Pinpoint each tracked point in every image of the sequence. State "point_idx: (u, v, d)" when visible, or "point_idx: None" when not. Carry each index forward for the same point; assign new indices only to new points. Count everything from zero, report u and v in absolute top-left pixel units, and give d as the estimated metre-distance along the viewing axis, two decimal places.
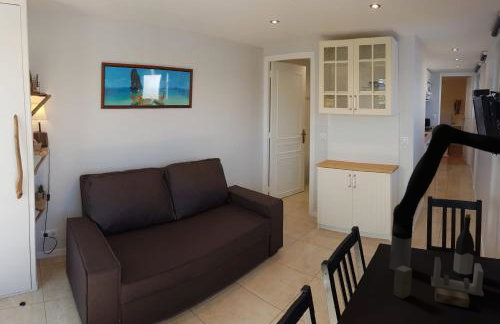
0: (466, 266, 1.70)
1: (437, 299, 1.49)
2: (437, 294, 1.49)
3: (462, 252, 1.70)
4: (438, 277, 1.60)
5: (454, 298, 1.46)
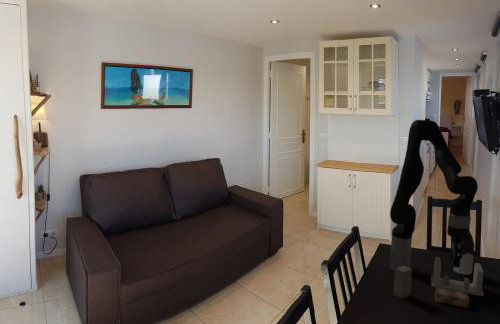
0: (466, 266, 1.70)
1: (437, 299, 1.49)
2: (437, 294, 1.49)
3: (462, 252, 1.70)
4: (438, 277, 1.60)
5: (454, 298, 1.46)
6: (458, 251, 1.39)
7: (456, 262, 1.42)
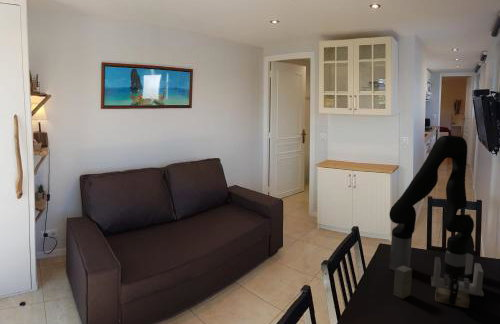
0: (466, 266, 1.70)
1: (437, 298, 1.49)
2: (437, 293, 1.49)
3: None
4: (438, 277, 1.60)
5: None
6: (454, 290, 1.43)
7: (452, 299, 1.45)
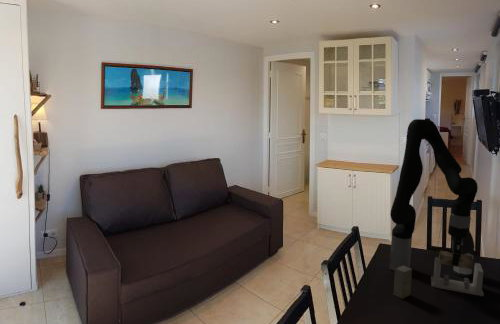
0: None
1: (441, 260, 1.52)
2: (441, 255, 1.52)
3: (462, 252, 1.70)
4: (438, 277, 1.60)
5: None
6: (457, 251, 1.46)
7: (455, 260, 1.49)
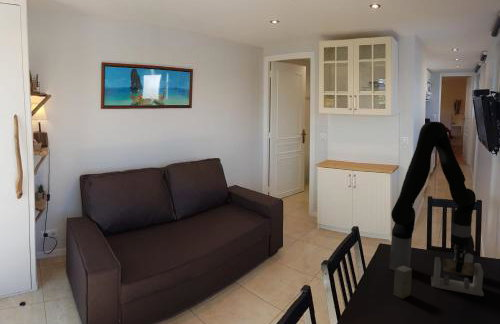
0: None
1: (445, 268, 1.60)
2: (445, 263, 1.60)
3: None
4: (438, 277, 1.60)
5: None
6: (460, 259, 1.54)
7: (458, 268, 1.57)
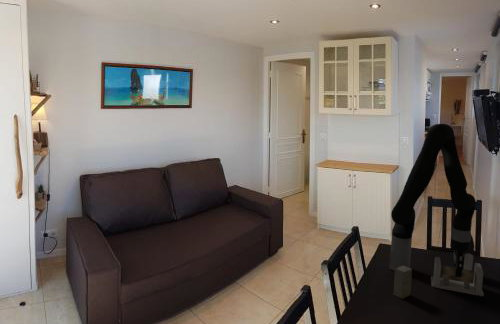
0: (466, 266, 1.70)
1: (444, 275, 1.61)
2: (444, 271, 1.60)
3: None
4: (438, 277, 1.60)
5: None
6: (460, 263, 1.53)
7: (458, 272, 1.56)
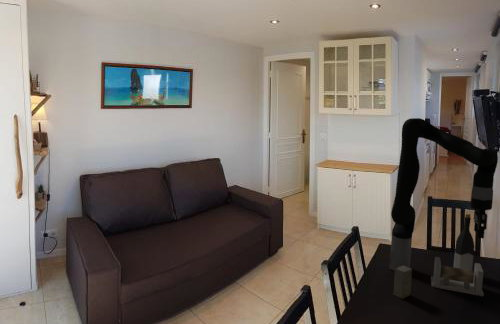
0: (466, 266, 1.70)
1: (444, 275, 1.61)
2: (444, 271, 1.60)
3: (462, 252, 1.70)
4: (438, 277, 1.60)
5: (459, 274, 1.58)
6: (483, 222, 1.43)
7: (480, 233, 1.45)
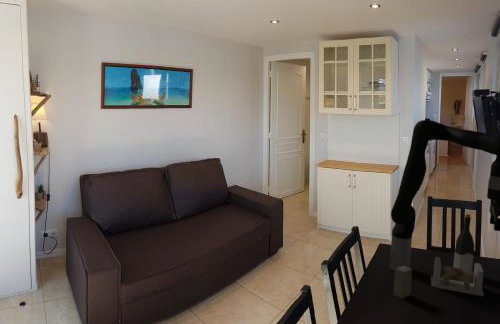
0: (466, 266, 1.70)
1: (444, 275, 1.61)
2: (444, 271, 1.60)
3: (462, 252, 1.70)
4: (438, 277, 1.60)
5: (459, 274, 1.58)
6: None
7: (497, 225, 1.37)
